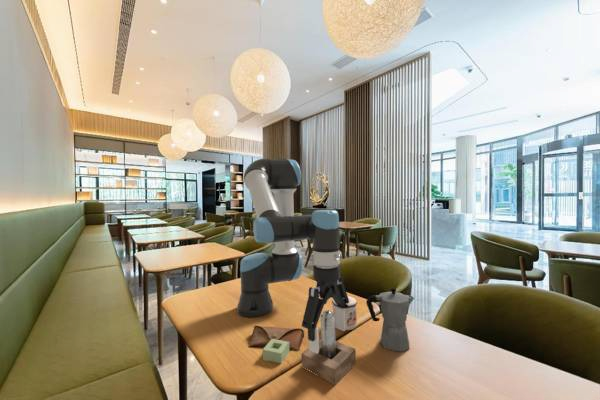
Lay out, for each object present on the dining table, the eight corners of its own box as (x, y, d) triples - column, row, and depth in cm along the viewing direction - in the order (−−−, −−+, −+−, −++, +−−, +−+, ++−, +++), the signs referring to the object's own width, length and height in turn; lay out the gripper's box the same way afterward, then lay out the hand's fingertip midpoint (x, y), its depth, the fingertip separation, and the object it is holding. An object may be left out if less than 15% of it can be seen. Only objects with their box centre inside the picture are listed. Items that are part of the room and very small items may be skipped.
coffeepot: (408, 334, 86) (407, 282, 86) (422, 351, 77) (421, 292, 76) (363, 336, 86) (362, 283, 86) (371, 353, 77) (370, 294, 76)
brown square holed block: (301, 367, 71) (301, 353, 71) (324, 348, 79) (323, 336, 79) (335, 385, 64) (334, 369, 64) (355, 362, 72) (355, 348, 72)
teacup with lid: (351, 333, 88) (350, 300, 88) (328, 326, 93) (327, 295, 93) (364, 319, 98) (363, 289, 97) (342, 313, 103) (341, 285, 103)
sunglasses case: (245, 347, 81) (248, 324, 84) (251, 347, 87) (254, 325, 90) (301, 351, 79) (302, 327, 82) (303, 350, 85) (304, 328, 88)
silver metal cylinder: (319, 366, 71) (317, 311, 71) (327, 359, 74) (325, 306, 74) (330, 372, 69) (329, 315, 69) (338, 364, 72) (337, 309, 72)
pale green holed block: (263, 359, 75) (262, 349, 75) (272, 348, 81) (271, 338, 81) (281, 363, 73) (281, 353, 73) (289, 351, 79) (289, 341, 79)
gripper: (310, 279, 59) (312, 368, 60) (359, 257, 79) (360, 325, 79) (286, 273, 64) (288, 356, 65) (338, 254, 83) (339, 318, 84)
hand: (328, 339), depth 72 cm, fingers open, 13 cm apart
